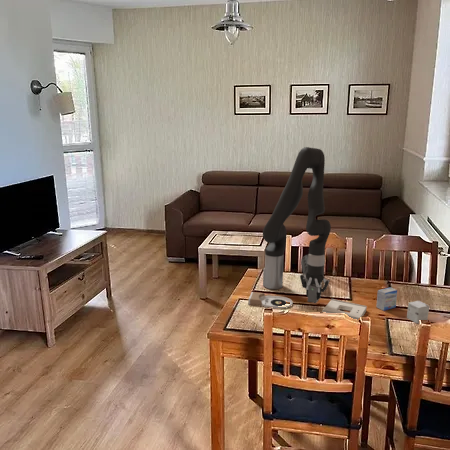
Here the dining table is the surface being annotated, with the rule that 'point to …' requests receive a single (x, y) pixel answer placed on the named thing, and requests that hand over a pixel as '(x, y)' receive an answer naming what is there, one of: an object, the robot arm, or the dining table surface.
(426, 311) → the skincare box
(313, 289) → the charger
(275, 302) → the record player
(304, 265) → the muzzle brake
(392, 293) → the medicine box
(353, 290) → the dining table surface
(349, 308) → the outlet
